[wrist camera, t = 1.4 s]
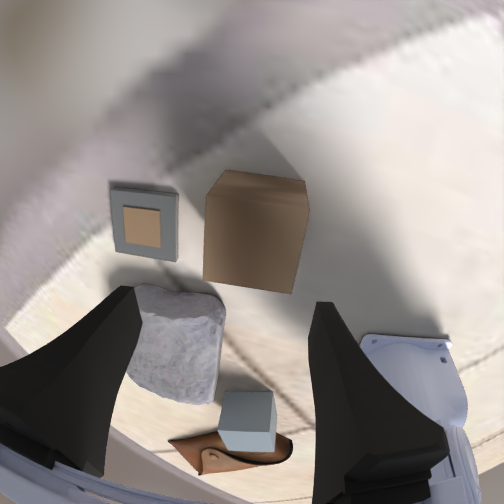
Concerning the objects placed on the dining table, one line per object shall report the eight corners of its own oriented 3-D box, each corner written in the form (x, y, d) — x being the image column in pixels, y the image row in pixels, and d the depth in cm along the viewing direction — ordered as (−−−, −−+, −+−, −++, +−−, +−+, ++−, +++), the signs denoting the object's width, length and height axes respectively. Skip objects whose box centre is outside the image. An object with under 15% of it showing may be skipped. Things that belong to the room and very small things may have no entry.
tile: (178, 193, 20) (175, 197, 20) (178, 257, 23) (175, 263, 22) (114, 187, 20) (108, 190, 20) (119, 248, 23) (114, 252, 22)
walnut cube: (304, 180, 19) (309, 210, 15) (291, 249, 22) (291, 293, 17) (225, 169, 19) (206, 195, 15) (219, 239, 22) (202, 280, 17)
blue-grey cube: (272, 390, 30) (269, 431, 25) (277, 414, 32) (274, 452, 28) (225, 390, 31) (217, 430, 26) (234, 414, 33) (228, 450, 29)
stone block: (142, 352, 32) (226, 385, 30) (119, 381, 28) (208, 420, 26) (132, 260, 26) (238, 293, 24) (98, 287, 22) (214, 331, 20)
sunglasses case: (251, 417, 33) (265, 468, 29) (284, 413, 38) (298, 457, 34) (164, 441, 40) (173, 480, 36) (198, 439, 45) (207, 474, 41)
